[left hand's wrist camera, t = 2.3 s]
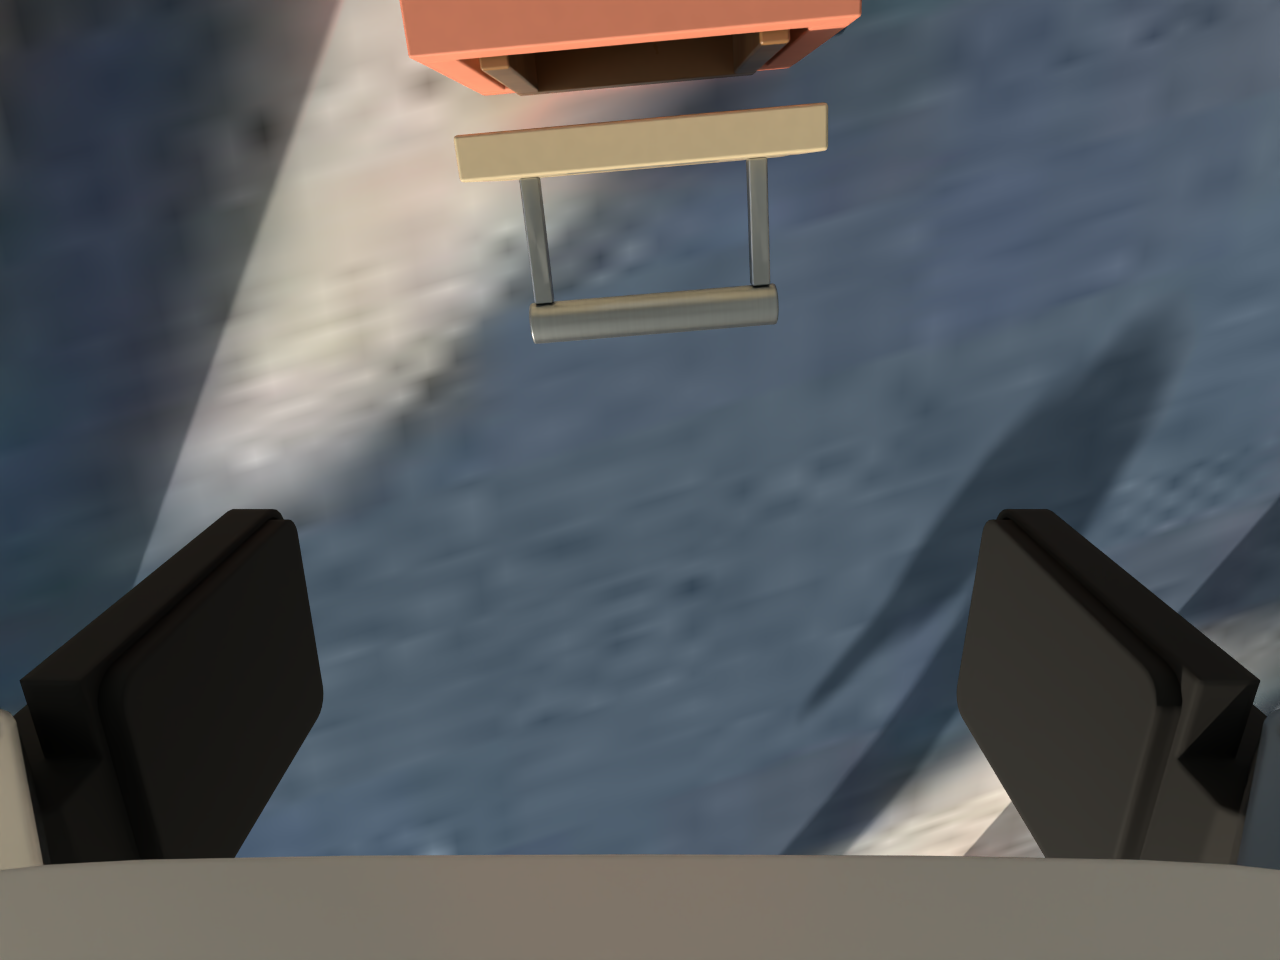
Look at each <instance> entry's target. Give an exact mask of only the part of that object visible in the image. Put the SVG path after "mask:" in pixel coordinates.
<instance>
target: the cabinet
mask: <svg viewBox="0 0 1280 960" xmlns="http://www.w3.org/2000/svg"><path fill="white" fill-rule="evenodd" d="M861 5H862V0H400V6H401V12H402V18H403V24H404V30H405V36H406V42H407V48H408V55H409V57H410V58H412V59H413V60H415V61H417V62H419V63H422V64H424V65H426V66H428V67H429V68H431V69H433V70H435V71H437V72H439V73H441V74H443V75H445V76H447V77H449V78H451V79H453V80H455V81H457V82H459V83H461V84H463V85H465V86H467V87H468V88H470V89H472V90H474V91H476V92H478V93H480V94H482V95H494V94H505V93H515V92H514V91H512V90H511V89H509V88H508V87H506V86H505V85H503V84H502V83H500V82H499V81H497V80H496V79H494V78H493V77H491V76H490V75H488V74H487V73H485V72H484V71H482V70H481V68H480V61H479V58H482V57H492V56H503V55H514V54H525V53H536V52H547V51H557V50H568V49H579V48H590V47H601V46H612V45H623V44H633V43H644V42H655V41H666V40H677V39H688V38H698V37H709V36H720V35H731V34H742V33H753V32H763V31H774V30H785V29H790V40H789V42H788V43H787V44H786V45H785V46H784V47H783V48H782V49H781V50H779V51H778V52H777V53H776V54H775V55H774V56H773V57H772V58H771V59H769V60H768V61H767V62H766V63H765V64H764V65H763V66H762V67H761V68H759V69H758V70H757V71H759V70H770V69H781V68H789V67H791V66H792V65H793V64H795V63H797V62H798V61H799V60H801V59H802V58H804V57H805V56H806V55H808V54H809V53H810V52H812V51H813V50H815V49H816V48H817V47H819V46H820V45H822V44H823V43H824V42H826V41H827V40H828V39H830V38H831V37H833V36H834V35H835V34H837V33H838V32H839V31H841V30H842V29H844V28H845V27H846V26H848V25H849V24H850V23H851V22H853V21H854V20H856V19H857V18H858V17H860V16H861Z"/></svg>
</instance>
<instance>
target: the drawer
mask: <svg viewBox="0 0 1280 960" xmlns="http://www.w3.org/2000/svg"><path fill="white" fill-rule="evenodd" d="M789 40H790V29H785V30H774V31H763V32H753V33H742V34H731V35H720V36H709V37H698V38H688V39H677V40H666V41H655V42H644V43H633V44H623V45H612V46H601V47H590V48H579V49H568V50H557V51H547V52H536V53H525V54H514V55H503V56H492V57H482V58H479V61H480V68H481V70H482V71H484V72H485V73H487V74H488V75H490V76H491V77H493V78H494V79H496V80H497V81H499V82H500V83H502V84H503V85H505V86H506V87H508V88H509V89H511V90H512V91H514V92H515V93H517V94H518V95H520V96H526V95H537V94H548V93H559V92H570V91H581V90H592V89H603V88H614V87H625V86H636V85H647V84H658V83H669V82H680V81H691V80H702V79H713V78H724V77H735V76H746V75H753V74H754V73H755V72H756V71H757V70H758V69H759V68H761V67H762V66H763V65H764V64H765V63H766V62H767V61H768V60H769V59H771V58H772V57H773V56H774V55H775V54H776V53H777V52H778V51H779V50H781V49H782V48H783V47H784V46H785V45H786V44H787V43H788V42H789ZM454 144H455V151H456V157H457V164H458V171H459V177H460V180H461V181H462V182H482V181H509V180H519V181H520V189H521V197H522V205H523V213H524V221H525V229H526V237H527V245H528V252H529V260H530V268H531V276H532V284H533V292H534V300H535V303H532V304H531V305H530V309H529V318H530V328H531V334H532V338H533V341H534V343H536V344H538V343H550V342H563V341H575V340H587V339H600V338H612V337H624V336H636V335H649V334H661V333H673V332H685V331H698V330H710V329H722V328H734V327H747V326H759V325H771V324H776V323H777V320H778V312H779V306H778V293H777V288H776V286H775V284H773V283H772V284H770V256H769V215H768V173H767V158H771V157H781V156H788V155H795V154H803V153H810V152H817V151H824V150H826V149H827V148H828V105H827V103H813V104H802V105H791V106H780V107H768V108H757V109H746V110H735V111H724V112H712V113H701V114H690V115H679V116H668V117H657V118H645V119H634V120H623V121H612V122H601V123H590V124H578V125H567V126H556V127H545V128H534V129H522V130H511V131H500V132H489V133H478V134H467V135H457V136H455V137H454ZM737 160H746V170H747V201H748V232H749V262H750V283H751V284H752V285H748V286H736V287H724V288H712V289H700V290H687V291H675V292H663V293H651V294H639V295H627V296H615V297H603V298H591V299H579V300H567V301H555V302H553V301H554V293H553V284H552V276H551V267H550V259H549V250H548V242H547V233H546V225H545V216H544V208H543V199H542V191H541V182H540V178H543V177H554V176H566V175H577V174H588V173H600V172H611V171H623V170H634V169H646V168H657V167H668V166H680V165H691V164H703V163H714V162H725V161H737Z"/></svg>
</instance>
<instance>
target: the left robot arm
mask: <svg viewBox="0 0 1280 960" xmlns="http://www.w3.org/2000/svg"><path fill="white" fill-rule="evenodd" d="M20 683H21V686H22V689H23V692H24V695H25V699H26V702H27V705H26V706H25V707H24V708H22V709H21V710H20V711H19V712H18V713H17V714H15V715H14V716H12V715H11V713H10V712H8V711H5V710H2V709H0V960H1280V709H1278V710H1275V711H1272V712H1270V713H1269V715H1268V716H1266V715H1265V714H1263V713H1262V712H1261V711H1260V710H1259V709H1258V708H1256V707H1255V706H1254V705H1253V702H1254V699H1255V695H1256V692H1257V689H1258V686H1259V683H1260V680H1259V679H1258V678H1257V677H1255V676H1254V675H1253V674H1252V673H1251V672H1249V671H1248V670H1247V669H1246V668H1244V667H1243V666H1242V665H1241V664H1239V663H1238V662H1237V661H1236V660H1235V659H1233V658H1232V657H1231V656H1230V655H1228V654H1227V653H1226V652H1225V651H1223V650H1222V649H1221V648H1220V647H1219V646H1217V645H1216V644H1215V643H1214V642H1212V641H1211V640H1210V639H1209V638H1207V637H1206V636H1205V635H1204V634H1203V633H1201V632H1200V631H1199V630H1198V629H1196V628H1195V627H1194V626H1193V625H1191V624H1190V623H1189V622H1188V621H1186V620H1185V619H1184V618H1183V617H1182V616H1180V615H1179V614H1178V613H1177V612H1175V611H1174V610H1173V609H1172V608H1170V607H1169V606H1168V605H1167V604H1166V603H1164V602H1163V601H1162V600H1161V599H1159V598H1158V597H1157V596H1156V595H1154V594H1153V593H1152V592H1151V591H1150V590H1148V589H1147V588H1146V587H1145V586H1143V585H1142V584H1141V583H1140V582H1138V581H1137V580H1136V579H1135V578H1134V577H1132V576H1131V575H1130V574H1129V573H1127V572H1126V571H1125V570H1124V569H1122V568H1121V567H1120V566H1119V565H1118V564H1116V563H1115V562H1114V561H1113V560H1111V559H1110V558H1109V557H1108V556H1106V555H1105V554H1104V553H1103V552H1102V551H1100V550H1099V549H1098V548H1097V547H1095V546H1094V545H1093V544H1092V543H1090V542H1089V541H1088V540H1087V539H1085V538H1084V537H1083V536H1082V535H1081V534H1079V533H1078V532H1077V531H1076V530H1074V529H1073V528H1072V527H1071V526H1069V525H1068V524H1067V523H1066V522H1065V521H1063V520H1062V519H1061V518H1060V517H1058V516H1057V515H1056V514H1055V513H1053V512H1052V511H1050V510H1048V509H1006V510H1003V511H1002V512H1001V513H999V515H998V517H997V519H996V520H989V521H988V522H987V523H986V524H985V526H984V529H983V533H982V539H981V545H980V551H979V557H978V563H977V569H976V575H975V581H974V587H973V593H972V600H971V606H970V612H969V618H968V624H967V630H966V636H965V642H964V648H963V654H962V660H961V667H960V673H959V679H958V685H957V703H958V708H959V711H960V714H961V716H962V718H963V720H964V722H965V723H966V725H967V727H968V728H969V730H970V732H971V733H972V735H973V737H974V738H975V740H976V742H977V743H978V745H979V747H980V748H981V750H982V752H983V753H984V755H985V757H986V758H987V760H988V762H989V764H990V765H991V767H992V769H993V770H994V772H995V774H996V775H997V777H998V779H999V780H1000V782H1001V784H1002V785H1003V787H1004V789H1005V790H1006V792H1007V794H1008V795H1009V797H1010V799H1011V800H1012V802H1013V804H1014V806H1015V807H1016V809H1017V811H1018V812H1019V814H1020V816H1021V817H1022V819H1023V821H1024V822H1025V824H1026V826H1027V827H1028V829H1029V831H1030V832H1031V834H1032V836H1033V837H1034V839H1035V841H1036V842H1037V844H1038V846H1039V847H1040V849H1041V851H1042V853H1043V854H1044V856H1045V858H1018V857H964V856H865V855H650V854H630V855H415V856H316V857H262V858H235V856H236V854H237V853H238V851H239V849H240V847H241V846H242V844H243V842H244V841H245V839H246V837H247V836H248V834H249V832H250V831H251V829H252V827H253V826H254V824H255V822H256V821H257V819H258V817H259V816H260V814H261V812H262V811H263V809H264V807H265V805H266V804H267V802H268V800H269V799H270V797H271V795H272V794H273V792H274V790H275V789H276V787H277V785H278V784H279V782H280V780H281V779H282V777H283V775H284V774H285V772H286V770H287V769H288V767H289V765H290V764H291V762H292V760H293V758H294V757H295V755H296V753H297V752H298V750H299V748H300V747H301V745H302V743H303V742H304V740H305V738H306V737H307V735H308V733H309V732H310V730H311V728H312V727H313V725H314V723H315V722H316V720H317V718H318V716H319V714H320V711H321V708H322V703H323V685H322V679H321V673H320V667H319V660H318V654H317V648H316V642H315V636H314V630H313V624H312V618H311V612H310V606H309V600H308V593H307V587H306V581H305V575H304V569H303V563H302V557H301V551H300V545H299V539H298V533H297V529H296V526H295V524H294V523H293V522H292V521H291V520H284V519H283V517H282V515H281V513H279V512H278V511H277V510H274V509H232V510H230V511H228V512H227V513H225V514H224V515H223V516H222V517H220V518H219V519H218V520H217V521H215V522H214V523H213V524H212V525H211V526H209V527H208V528H207V529H206V530H204V531H203V532H202V533H201V534H199V535H198V536H197V537H196V538H195V539H193V540H192V541H191V542H190V543H188V544H187V545H186V546H185V547H183V548H182V549H181V550H180V551H178V552H177V553H176V554H175V555H174V556H172V557H171V558H170V559H169V560H167V561H166V562H165V563H164V564H162V565H161V566H160V567H159V568H158V569H156V570H155V571H154V572H153V573H151V574H150V575H149V576H148V577H146V578H145V579H144V580H143V581H142V582H140V583H139V584H138V585H137V586H135V587H134V588H133V589H132V590H130V591H129V592H128V593H127V594H126V595H124V596H123V597H122V598H121V599H119V600H118V601H117V602H116V603H114V604H113V605H112V606H111V607H110V608H108V609H107V610H106V611H105V612H103V613H102V614H101V615H100V616H98V617H97V618H96V619H95V620H94V621H92V622H91V623H90V624H89V625H87V626H86V627H85V628H84V629H82V630H81V631H80V632H79V633H77V634H76V635H75V636H74V637H73V638H71V639H70V640H69V641H68V642H66V643H65V644H64V645H63V646H61V647H60V648H59V649H58V650H57V651H55V652H54V653H53V654H52V655H50V656H49V657H48V658H47V659H45V660H44V661H43V662H42V663H41V664H39V665H38V666H37V667H36V668H34V669H33V670H32V671H31V672H29V673H28V674H27V675H26V676H25V677H23V678H22V679H21V680H20Z"/></svg>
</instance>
